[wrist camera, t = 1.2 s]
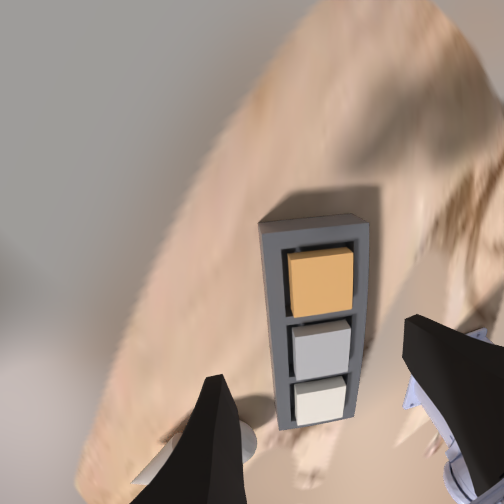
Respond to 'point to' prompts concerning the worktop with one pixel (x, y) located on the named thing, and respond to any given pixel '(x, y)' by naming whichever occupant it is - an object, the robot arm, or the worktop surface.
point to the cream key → (319, 400)
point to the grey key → (321, 349)
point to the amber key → (320, 281)
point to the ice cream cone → (158, 461)
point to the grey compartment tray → (282, 320)
